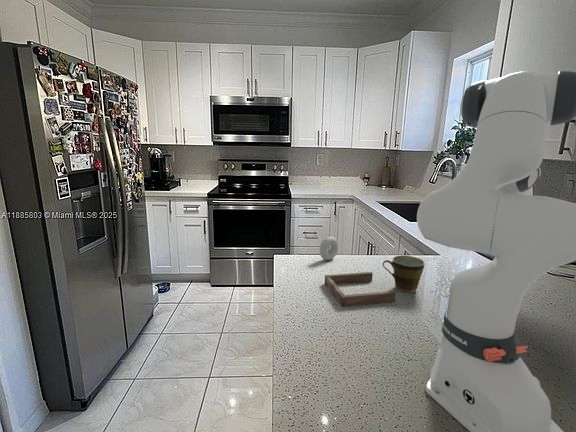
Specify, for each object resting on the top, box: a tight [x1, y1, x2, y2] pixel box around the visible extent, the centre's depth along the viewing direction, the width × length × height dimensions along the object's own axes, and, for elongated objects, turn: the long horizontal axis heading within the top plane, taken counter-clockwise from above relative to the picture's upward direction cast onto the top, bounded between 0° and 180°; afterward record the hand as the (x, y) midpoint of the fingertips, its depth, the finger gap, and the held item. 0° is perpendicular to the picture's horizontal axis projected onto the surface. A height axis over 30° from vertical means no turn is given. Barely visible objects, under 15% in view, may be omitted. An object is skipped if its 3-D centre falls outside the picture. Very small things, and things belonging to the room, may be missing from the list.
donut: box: [319, 236, 339, 261], centre depth 131 cm, size 10×4×10 cm, turn 131°
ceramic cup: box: [382, 255, 426, 294], centre depth 105 cm, size 13×10×10 cm
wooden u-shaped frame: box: [324, 271, 396, 307], centre depth 103 cm, size 16×17×3 cm
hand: (468, 231), depth 107 cm, fingers closed
